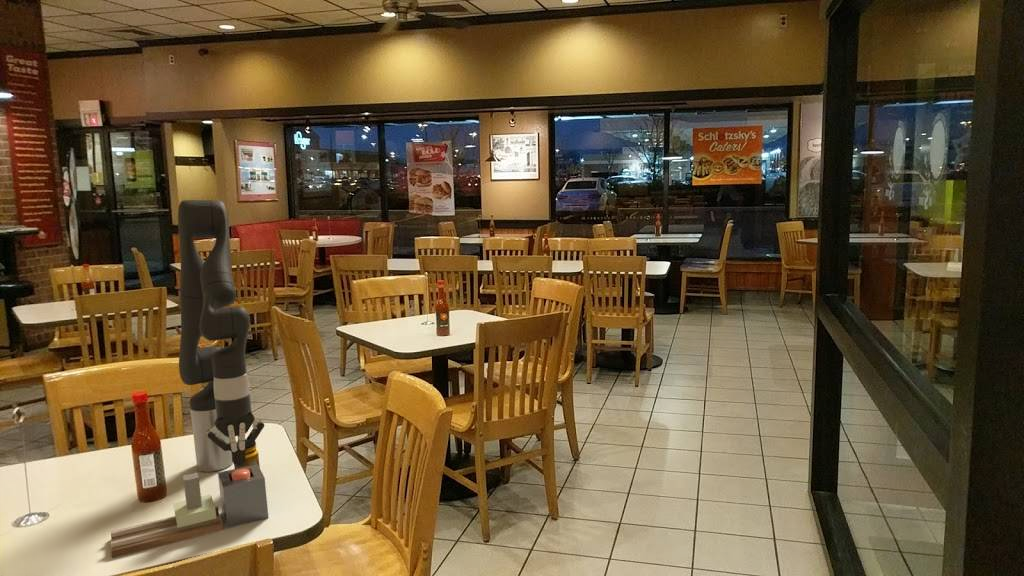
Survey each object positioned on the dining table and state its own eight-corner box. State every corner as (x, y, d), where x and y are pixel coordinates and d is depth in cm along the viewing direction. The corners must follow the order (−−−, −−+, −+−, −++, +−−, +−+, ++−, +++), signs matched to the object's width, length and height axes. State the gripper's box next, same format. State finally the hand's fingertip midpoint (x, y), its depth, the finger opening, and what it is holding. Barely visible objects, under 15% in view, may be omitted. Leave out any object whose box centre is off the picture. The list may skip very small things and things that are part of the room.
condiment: (266, 487, 182) (261, 443, 180) (231, 496, 177) (226, 451, 175) (258, 477, 188) (254, 434, 186) (224, 486, 183) (220, 442, 181)
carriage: (174, 513, 164) (170, 474, 162) (212, 504, 167) (207, 466, 166) (177, 527, 157) (172, 487, 155) (216, 518, 161) (211, 478, 159)
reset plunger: (232, 495, 168) (230, 471, 167) (250, 491, 169) (248, 467, 168) (235, 502, 164) (232, 477, 163) (253, 497, 166) (251, 473, 165)
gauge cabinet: (222, 512, 169) (217, 472, 168) (261, 502, 174) (257, 464, 172) (227, 528, 162) (223, 487, 160) (268, 517, 166) (264, 477, 164)
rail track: (112, 539, 158) (110, 528, 158) (217, 513, 169) (216, 503, 168) (112, 557, 151) (110, 546, 150) (222, 529, 161) (221, 519, 161)
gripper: (259, 384, 169) (265, 452, 172) (199, 394, 162) (206, 465, 166) (265, 392, 162) (271, 464, 165) (202, 403, 156) (210, 477, 159)
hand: (239, 464), depth 165 cm, fingers closed
